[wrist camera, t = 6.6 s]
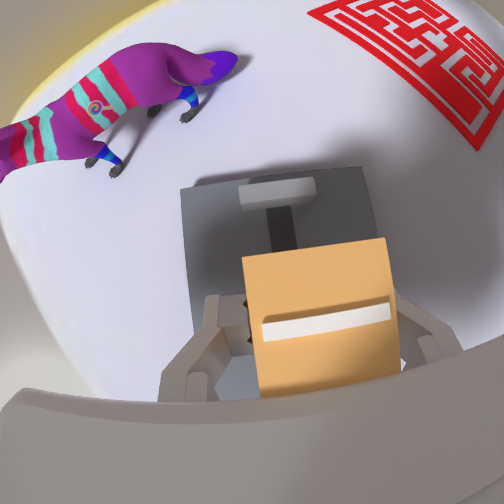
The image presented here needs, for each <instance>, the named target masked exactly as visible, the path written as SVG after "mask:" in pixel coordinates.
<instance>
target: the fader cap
mask: <svg viewBox="0 0 504 504" xmlns="http://www.w3.org/2000/svg"><path fill="white" fill-rule="evenodd" d="M242 263H243V271H244V278H245V286H246V294H247V301H248V309H249V317H250V324H251V332H252V339H253V346H254V354H255V361H256V368H257V376H258V383H259V390H260V397H261V398H266V397H275V396H283V395H291V394H298V393H304V392H311V391H317V390H323V389H328V388H333V387H339V386H344V385H348V384H353V383H358V382H362V381H366V380H371V379H375V378H379V377H383V376H387V375H391V374H394V373H398V372H401V360H400V344H399V332H398V321H397V312H396V303H395V295H394V288H393V281H392V274H391V268H390V262H389V256H388V250H387V245H386V240H385V237H384V238H376V239H369V240H362V241H355V242H348V243H341V244H334V245H326V246H319V247H312V248H305V249H298V250H290V251H283V252H276V253H269V254H261V255H254V256H247V257H242Z"/></svg>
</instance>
